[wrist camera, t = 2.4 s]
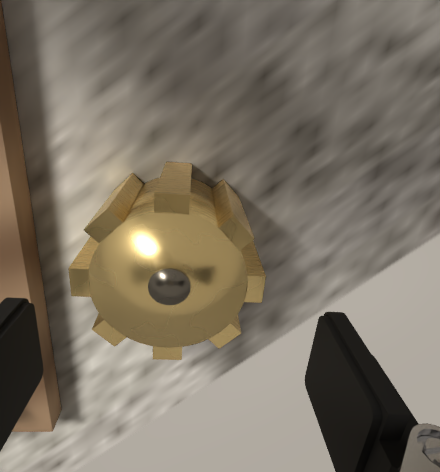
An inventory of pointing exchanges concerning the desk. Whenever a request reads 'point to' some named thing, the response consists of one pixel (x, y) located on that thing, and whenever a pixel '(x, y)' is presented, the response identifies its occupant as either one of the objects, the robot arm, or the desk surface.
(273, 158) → the desk surface
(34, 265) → the gear board
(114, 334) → the brass gear
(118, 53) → the desk surface
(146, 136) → the desk surface
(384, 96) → the desk surface
